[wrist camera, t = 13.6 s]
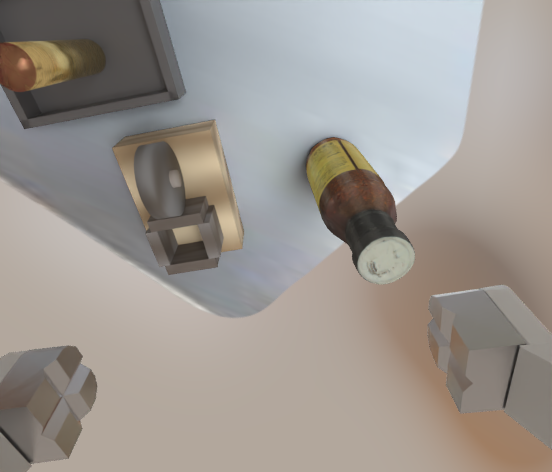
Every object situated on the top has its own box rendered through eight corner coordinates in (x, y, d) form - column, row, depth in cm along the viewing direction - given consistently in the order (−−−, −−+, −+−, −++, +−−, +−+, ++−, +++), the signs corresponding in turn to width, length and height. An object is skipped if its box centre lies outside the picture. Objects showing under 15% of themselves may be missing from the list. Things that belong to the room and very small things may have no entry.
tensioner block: (123, 132, 40) (78, 168, 30) (213, 115, 39) (196, 147, 30) (167, 244, 47) (142, 301, 38) (243, 231, 46) (238, 286, 37)
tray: (43, 120, 39) (24, 129, 36) (-22, -10, 33) (-51, -13, 30) (186, 92, 38) (178, 99, 35) (145, -48, 32) (133, -55, 29)
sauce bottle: (302, 185, 43) (324, 296, 26) (308, 132, 40) (338, 220, 23) (357, 188, 44) (414, 300, 27) (367, 136, 40) (439, 225, 23)
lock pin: (67, 42, 34) (-22, 47, 24) (97, 35, 34) (21, 37, 24) (81, 77, 36) (3, 95, 25) (110, 70, 36) (44, 87, 25)
